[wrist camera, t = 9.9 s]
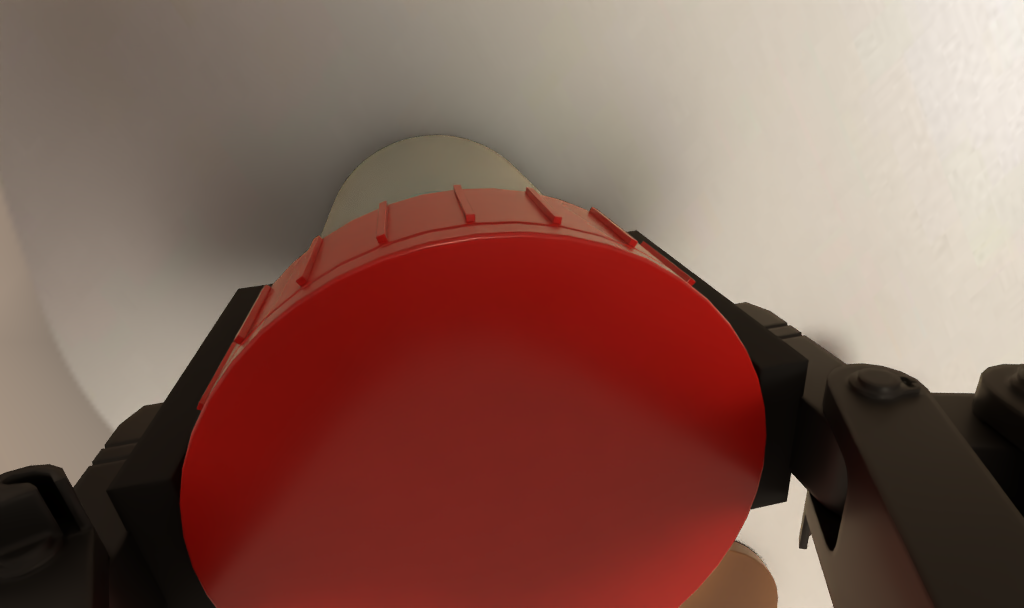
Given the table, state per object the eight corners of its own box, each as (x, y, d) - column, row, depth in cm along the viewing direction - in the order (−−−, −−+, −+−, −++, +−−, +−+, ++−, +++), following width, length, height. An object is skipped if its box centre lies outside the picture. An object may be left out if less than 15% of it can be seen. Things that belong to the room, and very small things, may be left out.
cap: (387, 64, 7) (384, 71, 5) (781, 334, 10) (877, 405, 8) (140, 505, 9) (68, 635, 7) (532, 625, 12) (559, 740, 10)
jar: (298, 305, 18) (188, 601, 9) (369, 95, 16) (330, 165, 6) (494, 364, 21) (584, 651, 11) (578, 186, 19) (788, 342, 9)
